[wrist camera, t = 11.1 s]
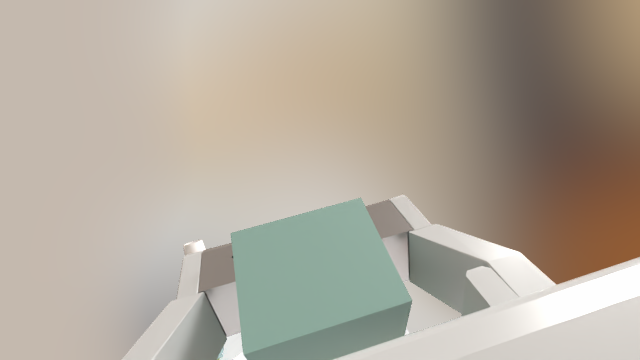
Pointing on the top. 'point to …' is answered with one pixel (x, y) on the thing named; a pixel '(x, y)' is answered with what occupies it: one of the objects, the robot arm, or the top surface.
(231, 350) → the top surface
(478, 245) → the robot arm
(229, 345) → the top surface
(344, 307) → the bar
